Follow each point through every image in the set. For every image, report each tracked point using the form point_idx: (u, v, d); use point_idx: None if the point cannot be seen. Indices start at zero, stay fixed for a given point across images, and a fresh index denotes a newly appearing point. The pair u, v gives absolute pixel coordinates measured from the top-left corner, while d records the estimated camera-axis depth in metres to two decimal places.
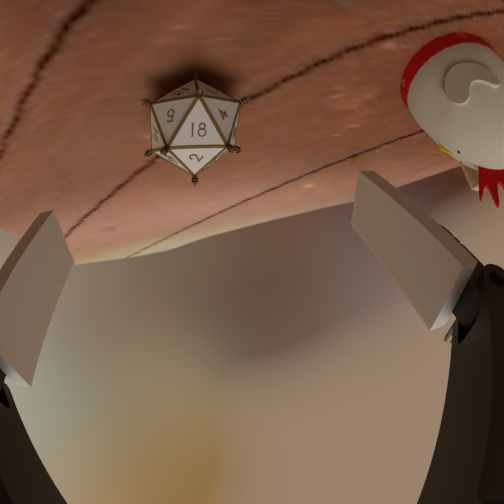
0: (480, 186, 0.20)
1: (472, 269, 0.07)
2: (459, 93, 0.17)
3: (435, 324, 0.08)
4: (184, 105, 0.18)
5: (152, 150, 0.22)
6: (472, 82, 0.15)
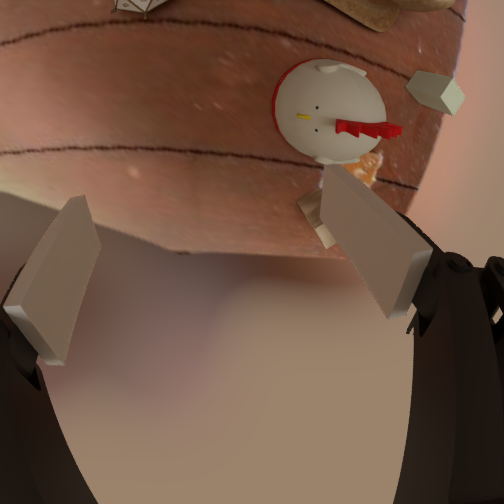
0: (337, 122, 0.24)
1: (427, 256, 0.07)
2: (329, 64, 0.26)
3: (393, 314, 0.08)
4: None
5: None
6: (342, 64, 0.26)
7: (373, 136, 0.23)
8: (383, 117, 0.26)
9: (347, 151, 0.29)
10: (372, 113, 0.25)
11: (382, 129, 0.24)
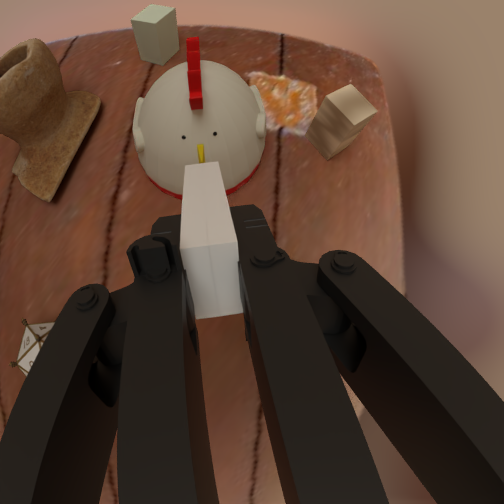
0: None
1: (234, 250, 0.08)
2: (134, 138, 0.24)
3: (223, 310, 0.09)
4: None
5: None
6: (133, 124, 0.24)
7: (197, 56, 0.16)
8: None
9: (236, 92, 0.21)
10: (177, 71, 0.20)
11: (189, 51, 0.17)
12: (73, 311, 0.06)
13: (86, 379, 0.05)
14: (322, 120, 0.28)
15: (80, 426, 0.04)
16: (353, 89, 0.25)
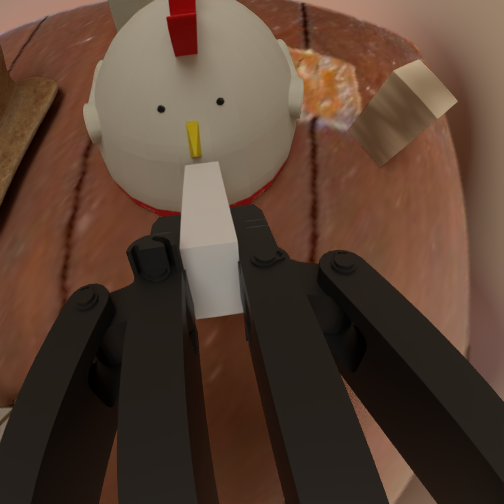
0: (169, 33, 0.07)
1: (234, 250, 0.08)
2: None
3: (223, 310, 0.09)
4: None
5: None
6: (89, 101, 0.14)
7: None
8: None
9: (259, 34, 0.10)
10: (154, 2, 0.09)
11: None
12: (74, 312, 0.06)
13: (86, 379, 0.05)
14: (381, 108, 0.17)
15: (80, 426, 0.04)
16: (423, 67, 0.14)
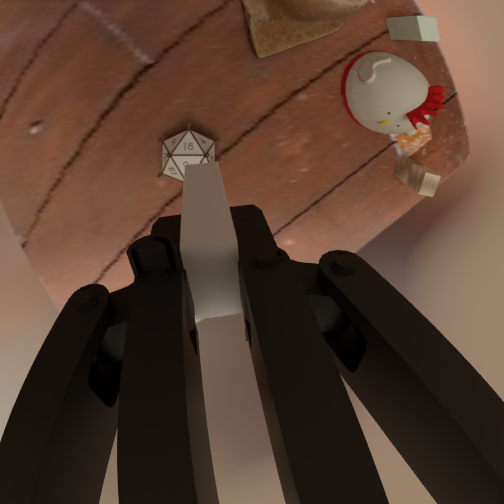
0: (410, 120, 0.30)
1: (234, 250, 0.08)
2: (368, 74, 0.31)
3: (223, 310, 0.09)
4: (181, 135, 0.34)
5: (162, 171, 0.36)
6: (373, 65, 0.31)
7: (435, 115, 0.27)
8: (426, 84, 0.29)
9: (423, 123, 0.32)
10: (421, 92, 0.28)
11: (436, 104, 0.27)
12: (74, 312, 0.06)
13: (86, 379, 0.05)
14: (412, 169, 0.43)
15: (80, 426, 0.04)
16: (437, 179, 0.41)
